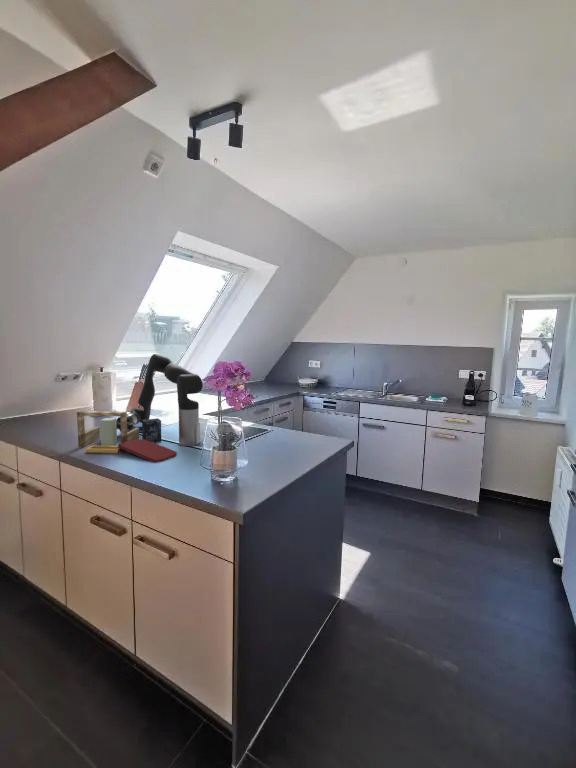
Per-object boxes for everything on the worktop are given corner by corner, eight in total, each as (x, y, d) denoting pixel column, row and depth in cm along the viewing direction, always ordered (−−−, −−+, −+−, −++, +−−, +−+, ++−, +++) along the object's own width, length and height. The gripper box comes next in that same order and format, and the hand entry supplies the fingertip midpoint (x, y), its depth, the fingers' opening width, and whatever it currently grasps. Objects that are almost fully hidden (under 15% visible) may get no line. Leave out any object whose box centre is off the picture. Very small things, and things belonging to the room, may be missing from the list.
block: (117, 442, 176) (116, 418, 175) (111, 445, 171) (111, 420, 170) (106, 442, 176) (105, 418, 175) (101, 445, 171) (100, 420, 170)
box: (144, 443, 176) (144, 421, 175) (142, 440, 181) (141, 419, 180) (161, 441, 181) (161, 420, 179) (158, 438, 185) (158, 418, 184)
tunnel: (139, 439, 183) (138, 406, 181) (124, 449, 167) (123, 413, 165) (97, 438, 183) (95, 405, 181) (78, 448, 167) (76, 412, 165)
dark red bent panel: (178, 463, 161) (136, 446, 172) (179, 452, 160) (137, 436, 171) (156, 472, 150) (113, 453, 161) (157, 460, 149) (114, 442, 160)
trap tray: (123, 449, 166) (123, 446, 165) (117, 453, 160) (117, 449, 160) (92, 449, 166) (92, 445, 166) (85, 453, 160) (85, 448, 160)
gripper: (112, 414, 192) (96, 421, 175) (140, 415, 191) (126, 421, 175) (113, 428, 192) (97, 436, 176) (140, 429, 192) (126, 437, 176)
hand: (111, 429), depth 176 cm, fingers open, 8 cm apart
